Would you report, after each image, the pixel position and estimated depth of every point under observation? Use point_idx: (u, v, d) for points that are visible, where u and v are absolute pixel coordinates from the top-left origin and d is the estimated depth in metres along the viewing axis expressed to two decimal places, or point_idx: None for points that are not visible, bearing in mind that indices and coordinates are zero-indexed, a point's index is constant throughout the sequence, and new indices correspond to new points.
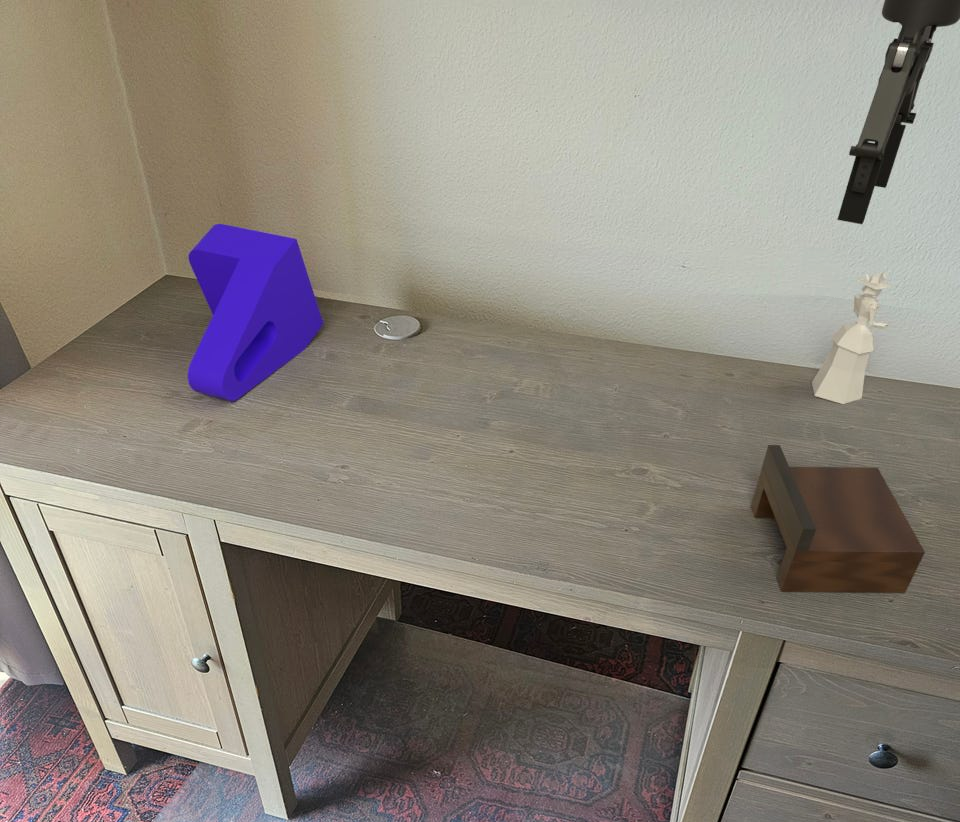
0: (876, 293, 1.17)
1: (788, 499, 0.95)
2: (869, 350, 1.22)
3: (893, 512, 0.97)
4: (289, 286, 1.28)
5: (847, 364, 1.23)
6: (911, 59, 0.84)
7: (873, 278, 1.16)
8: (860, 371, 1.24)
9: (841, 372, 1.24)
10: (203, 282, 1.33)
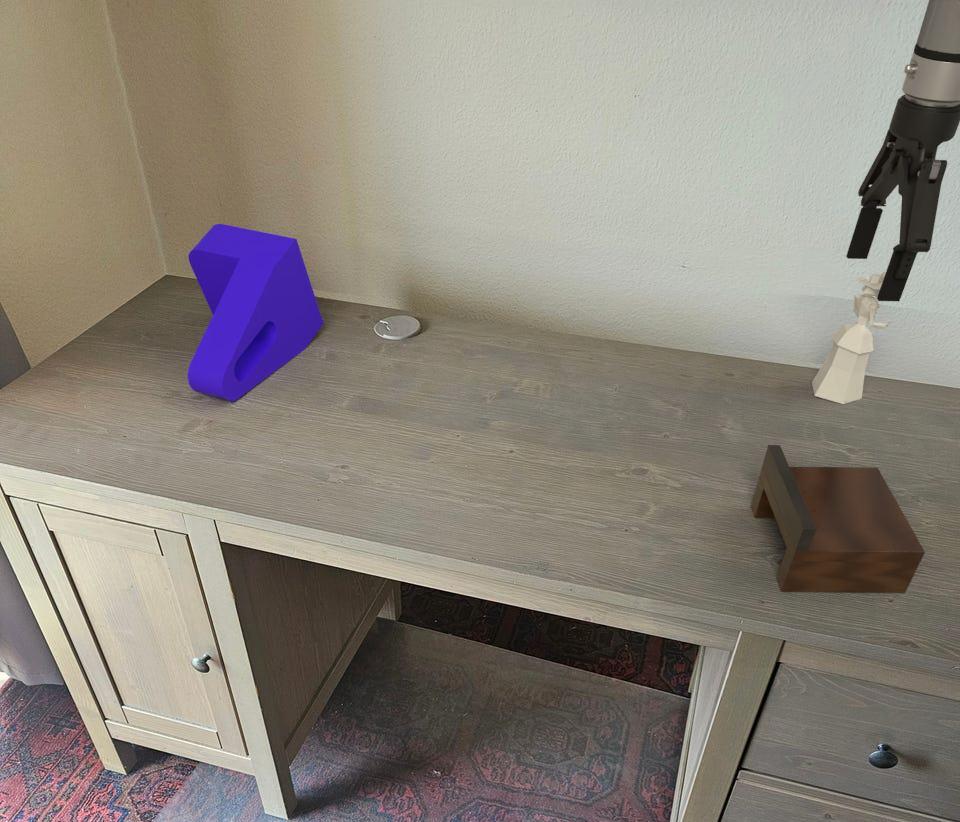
0: (876, 293, 1.17)
1: (788, 499, 0.95)
2: (869, 350, 1.22)
3: (893, 512, 0.97)
4: (289, 286, 1.28)
5: (847, 364, 1.23)
6: (943, 172, 1.01)
7: (873, 278, 1.16)
8: (860, 371, 1.24)
9: (841, 372, 1.24)
10: (203, 282, 1.33)
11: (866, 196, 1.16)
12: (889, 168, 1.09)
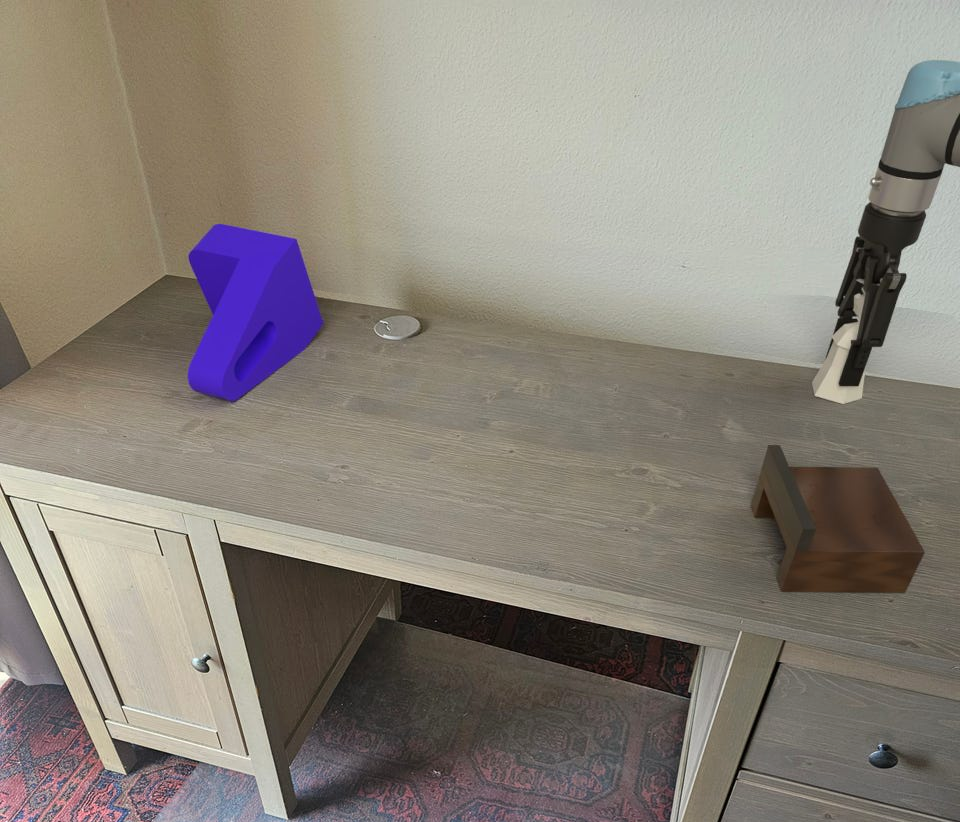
0: None
1: (788, 499, 0.95)
2: None
3: (893, 512, 0.97)
4: (289, 286, 1.28)
5: None
6: (902, 285, 1.11)
7: None
8: None
9: (841, 372, 1.24)
10: (203, 282, 1.33)
11: (841, 306, 1.24)
12: (860, 268, 1.17)
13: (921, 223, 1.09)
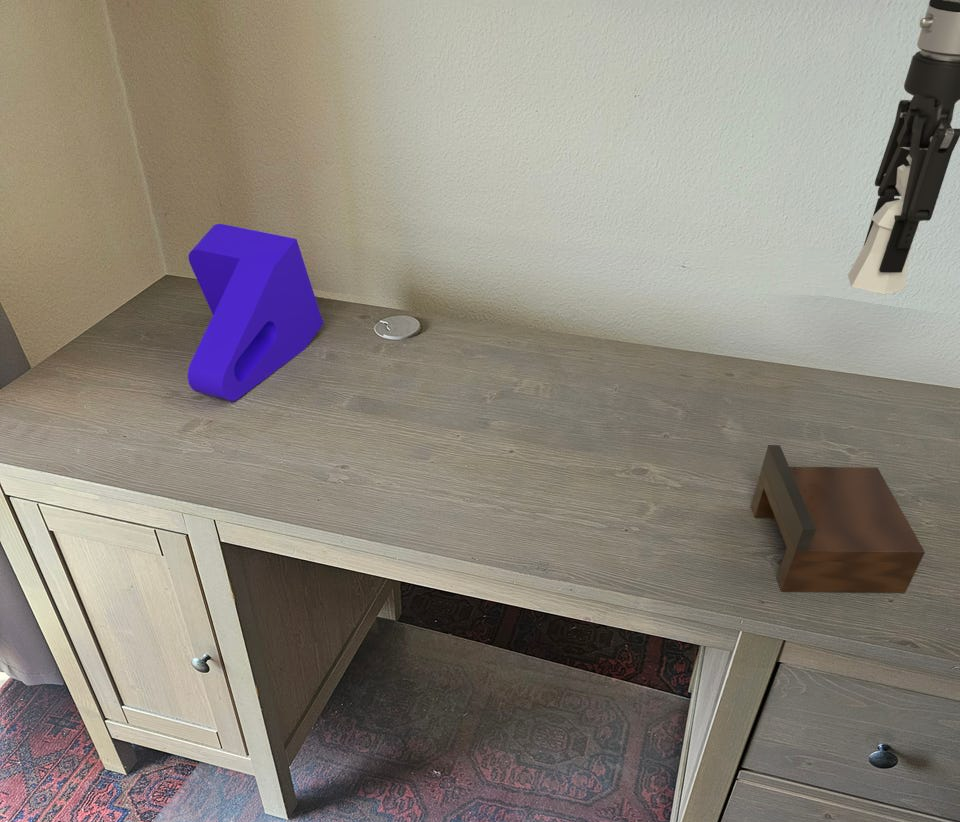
0: None
1: (788, 499, 0.95)
2: None
3: (893, 512, 0.97)
4: (289, 286, 1.28)
5: None
6: (955, 142, 0.98)
7: None
8: None
9: (882, 257, 1.11)
10: (203, 282, 1.33)
11: (882, 184, 1.11)
12: (905, 133, 1.04)
13: None
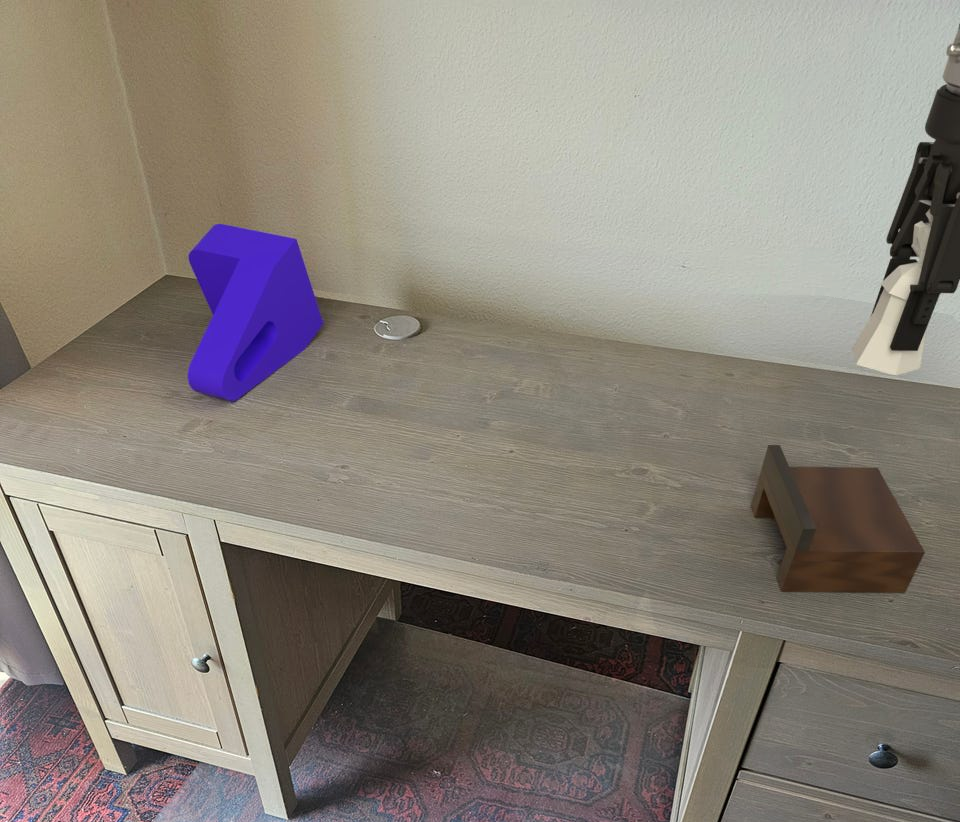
0: None
1: (788, 499, 0.95)
2: None
3: (893, 512, 0.97)
4: (289, 286, 1.28)
5: None
6: None
7: None
8: None
9: (894, 331, 0.91)
10: (203, 282, 1.33)
11: (896, 242, 0.91)
12: (926, 184, 0.84)
13: None
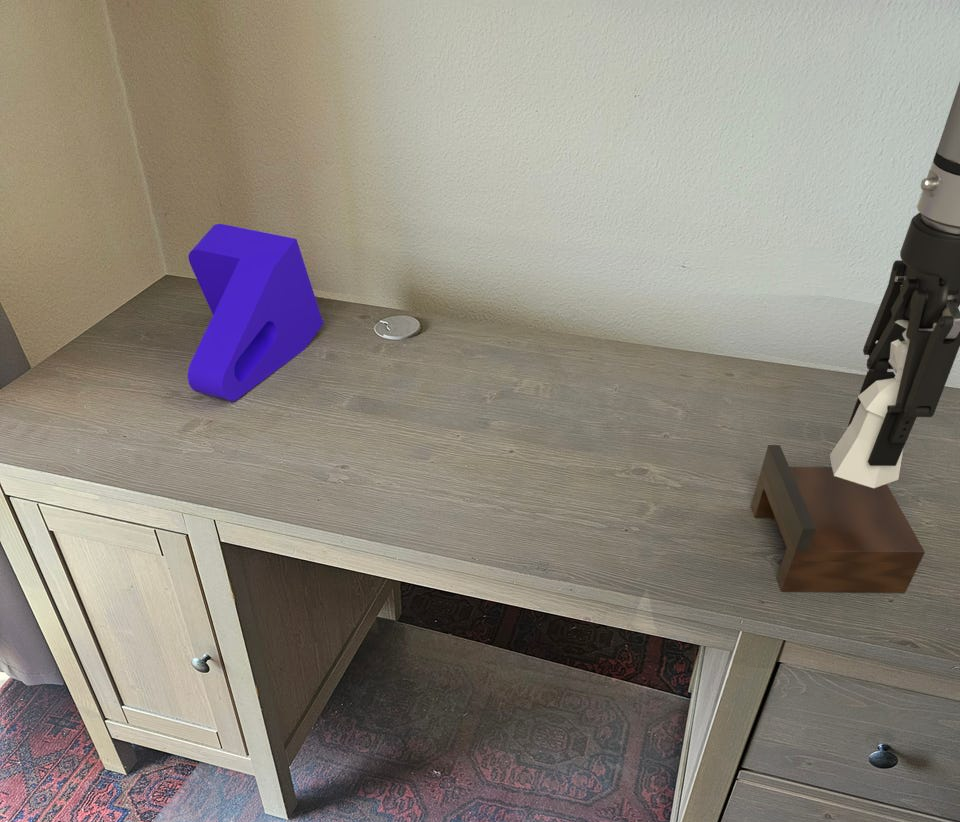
0: None
1: (788, 499, 0.95)
2: None
3: (893, 512, 0.97)
4: (289, 286, 1.28)
5: None
6: None
7: None
8: None
9: (872, 446, 0.90)
10: (203, 282, 1.33)
11: (872, 355, 0.90)
12: (902, 306, 0.83)
13: None
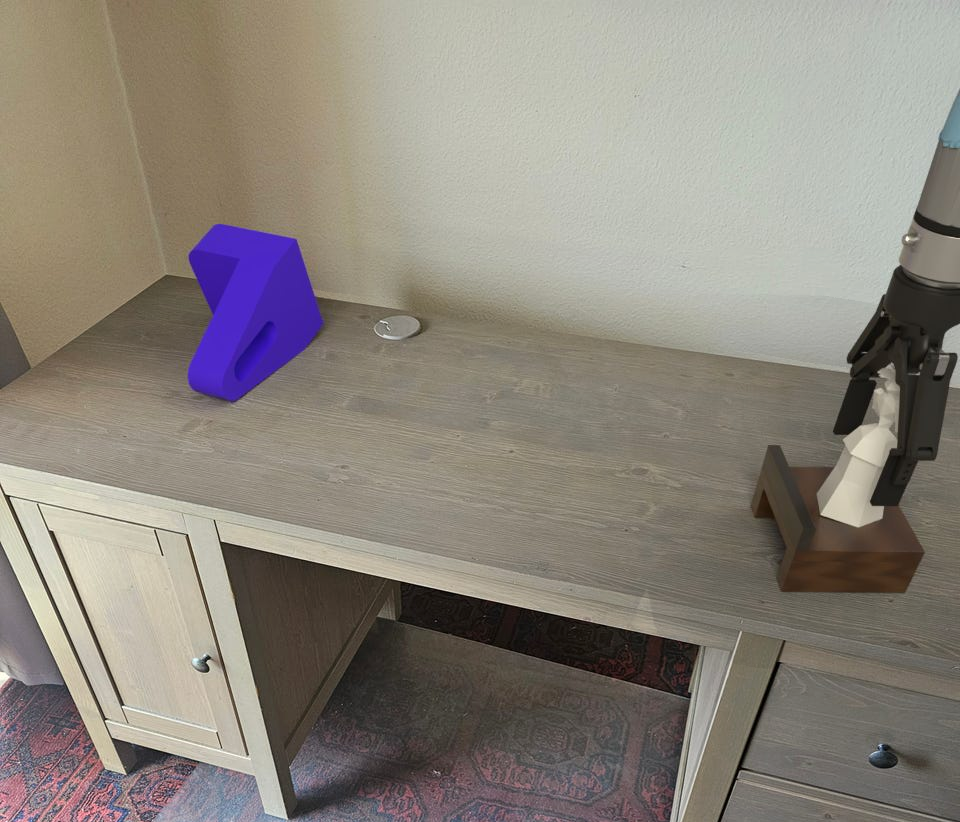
0: None
1: (788, 499, 0.95)
2: None
3: (893, 512, 0.97)
4: (289, 286, 1.28)
5: (864, 478, 0.93)
6: (953, 368, 0.79)
7: None
8: None
9: (856, 487, 0.94)
10: (203, 282, 1.33)
11: (855, 367, 0.94)
12: (884, 346, 0.87)
13: None
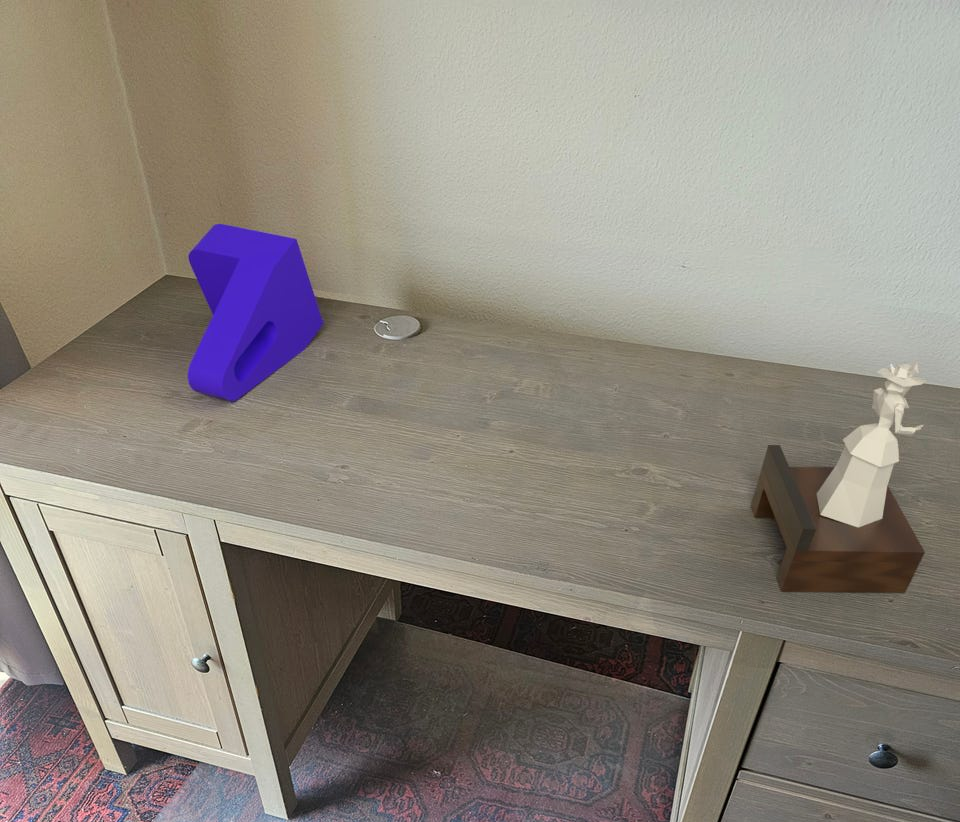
0: (904, 390, 0.87)
1: (788, 499, 0.95)
2: (893, 461, 0.91)
3: (893, 512, 0.97)
4: (289, 286, 1.28)
5: (864, 478, 0.93)
6: None
7: (900, 371, 0.86)
8: (881, 486, 0.94)
9: (856, 487, 0.94)
10: (203, 282, 1.33)
11: None
12: None
13: None
